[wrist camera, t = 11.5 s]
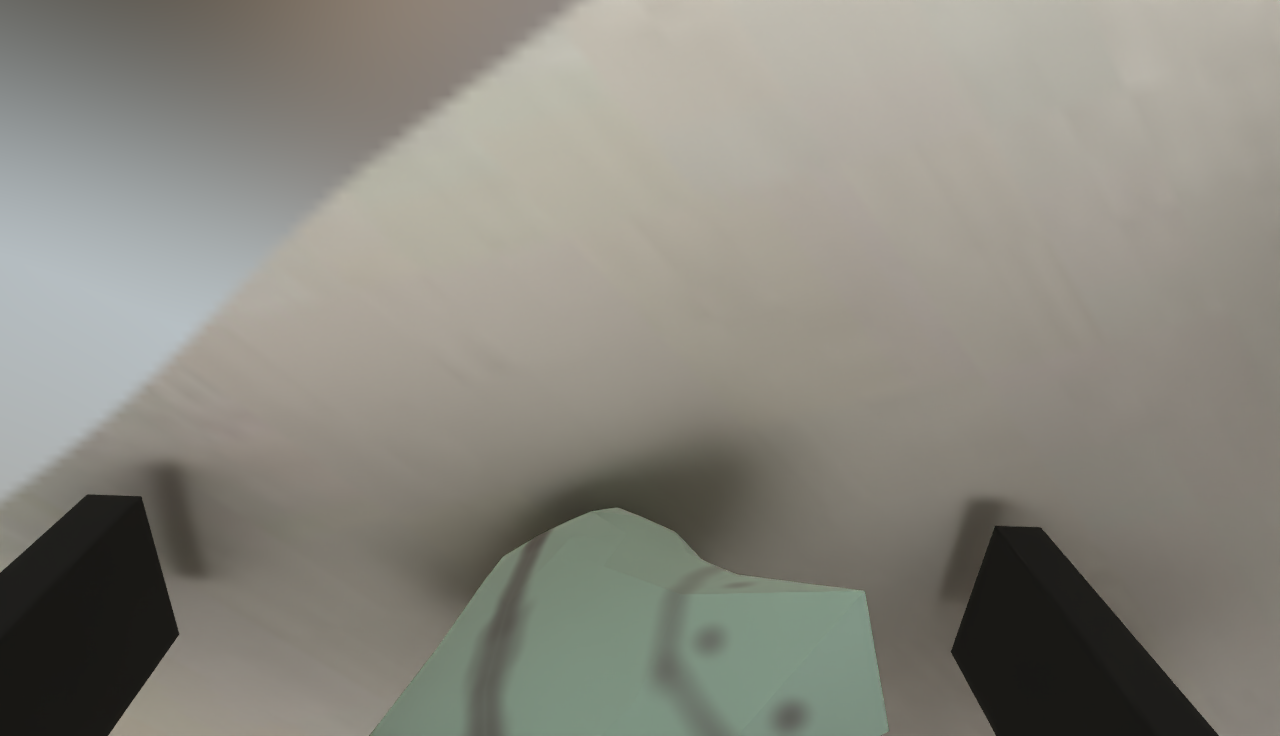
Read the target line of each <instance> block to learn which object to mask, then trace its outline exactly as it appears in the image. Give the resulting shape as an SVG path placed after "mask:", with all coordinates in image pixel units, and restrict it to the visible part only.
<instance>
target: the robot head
mask: <svg viewBox="0 0 1280 736" xmlns="http://www.w3.org/2000/svg"><path fill="white" fill-rule="evenodd" d="M888 731H889V727H888V722H887V716H886V710H885V704H884V699H883V693H882V687H881V681H880V676H879V670H878V664H877V658H876V653H875V647H874V641H873V635H872V630H871V624H870V618H869V612H868V607H867V601H866V595H865V591H863V590H855V589H847V588H840V587H832V586H824V585H816V584H808V583H800V582H793V581H785V580H777V579H769V578H761V577H754V576H746V575H738V574H734V573H732V572H730V571H727V570H725V569H723V568H720V567H718V566H716V565H713V564H711V563H708V562H706V561H704V560H702V559H701V558H700V557H699V556H698V555H697V554H696V553H695V552H694V551H693V550H692V549H691V548H690V546H689V545H688V544H687V543H686V542H685V541H684V540H683V539H682V538H681V537H680V536H679V535H678V534H677V533H676V532H675V531H672V530H670V529H668V528H666V527H664V526H661V525H659V524H657V523H655V522H652V521H650V520H648V519H646V518H643V517H641V516H639V515H636V514H633V513H631V512H628V511H626V510H623V509H620V508H618V507H616V508H610V509H603V510H596V511H591V512H588V513H586V514H583V515H581V516H579V517H576V518H574V519H571V520H569V521H567V522H565V523H563V524H561V525H558V526H556V527H554V528H552V529H550V530H548V531H546V532H544V533H542V534H540V535H538V536H536V537H535V538H533V539H531V540H530V541H528V542H526V543H525V544H523V545H521V546H520V547H518V548H516V549H515V550H513V551H511V552H510V553H508V554H506V555H505V556H503V557H502V559H501V560H500V561H499V562H498V564H497V565H496V566H495V567H494V569H493V570H492V571H491V573H490V574H489V575H488V576H487V578H486V579H485V580H484V582H483V583H482V584H481V586H480V587H479V589H478V590H477V591H476V593H475V594H474V596H473V597H472V599H471V600H470V601H469V603H468V604H467V606H466V607H465V609H464V610H463V612H462V613H461V614H460V616H459V617H458V619H457V620H456V622H455V623H454V624H453V626H452V627H451V629H450V630H449V632H448V633H447V634H446V636H445V637H444V639H443V640H442V642H441V643H440V644H439V646H438V647H437V649H436V650H435V651H434V653H433V654H432V655H431V657H430V658H429V659H428V660H427V662H426V663H425V664H424V666H423V667H422V668H421V669H420V671H419V672H418V673H417V675H416V676H415V677H414V679H413V680H412V681H411V682H410V684H409V685H408V686H407V688H406V689H405V690H404V692H403V693H402V694H401V695H400V697H399V698H398V699H397V701H396V702H395V703H394V704H393V706H392V707H391V708H390V710H389V711H388V712H387V714H386V715H385V716H384V717H383V719H382V720H381V721H380V723H379V724H378V725H377V727H376V728H375V729H374V730H373V732H372V733H371V734H370V736H881V735H883V734H885V733H886V732H888Z"/></svg>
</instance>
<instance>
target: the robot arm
mask: <svg viewBox="0 0 1280 736" xmlns="http://www.w3.org/2000/svg"><path fill="white" fill-rule="evenodd" d="M178 635H179V631H178V628H177V624H176V621H175V617H174V613H173V610H172V606H171V602H170V599H169V595H168V592H167V588H166V584H165V581H164V577H163V573H162V570H161V566H160V562H159V559H158V555H157V552H156V548H155V544H154V541H153V537H152V533H151V530H150V526H149V523H148V519H147V515H146V512H145V508H144V504H143V501H142V497H141V496H113V495H86V496H85V497H84V498H83V499H82V500H81V501H80V502H78V503H77V504H76V505H75V506H74V507H73V508H72V509H71V510H70V511H69V512H67V513H66V514H65V515H64V516H63V517H62V518H61V519H60V520H59V521H57V522H56V523H55V524H54V525H53V526H52V527H51V528H50V529H49V530H47V531H46V532H45V533H44V534H43V535H42V536H41V537H40V538H39V539H37V540H36V541H35V542H34V543H33V544H32V545H31V546H30V547H29V548H27V549H26V550H25V551H24V552H23V553H22V554H21V555H20V556H19V557H18V558H16V559H15V560H14V561H13V562H12V563H11V564H10V565H9V566H8V567H6V568H5V569H4V570H3V571H2V572H1V573H0V736H108V735H109V733H110V732H111V730H112V729H113V728H114V726H115V725H116V723H117V722H118V721H119V719H120V718H121V716H122V715H123V713H124V712H125V711H126V709H127V708H128V706H129V705H130V704H131V702H132V701H133V699H134V698H135V696H136V695H137V694H138V692H139V691H140V689H141V688H142V686H143V685H144V684H145V682H146V681H147V679H148V678H149V677H150V675H151V674H152V672H153V671H154V669H155V668H156V667H157V665H158V664H159V662H160V661H161V660H162V658H163V657H164V655H165V654H166V652H167V651H168V650H169V648H170V647H171V645H172V644H173V642H174V641H175V640H176V638H177V637H178ZM951 653H952V655H953V657H954V659H955V660H956V662H957V664H958V666H959V668H960V670H961V672H962V673H963V675H964V677H965V679H966V681H967V683H968V684H969V686H970V688H971V690H972V692H973V694H974V696H975V697H976V699H977V701H978V703H979V705H980V707H981V708H982V710H983V712H984V714H985V716H986V718H987V719H988V721H989V723H990V725H991V727H992V729H993V731H994V732H995V734H996V736H1219V735H1218V734H1217V733H1216V732H1215V731H1214V729H1213V728H1212V727H1211V726H1210V725H1209V724H1208V722H1207V721H1206V720H1205V719H1204V718H1203V717H1202V715H1201V714H1200V713H1199V712H1198V711H1197V710H1196V708H1195V707H1194V706H1193V705H1192V704H1191V703H1190V701H1189V700H1188V699H1187V698H1186V697H1185V696H1184V694H1183V693H1182V692H1181V691H1180V690H1179V689H1178V687H1177V686H1176V685H1175V684H1174V683H1173V681H1172V680H1171V679H1170V678H1169V677H1168V676H1167V674H1166V673H1165V672H1164V671H1163V670H1162V669H1161V667H1160V666H1159V665H1158V664H1157V663H1156V662H1155V660H1154V659H1153V658H1152V657H1151V656H1150V655H1149V653H1148V652H1147V651H1146V650H1145V649H1144V648H1143V646H1142V645H1141V644H1140V643H1139V642H1138V641H1137V639H1136V638H1135V637H1134V636H1133V635H1132V634H1131V632H1130V631H1129V630H1128V629H1127V628H1126V627H1125V625H1124V624H1123V623H1122V622H1121V621H1120V620H1119V618H1118V617H1117V616H1116V615H1115V614H1114V612H1113V611H1112V610H1111V609H1110V608H1109V607H1108V605H1107V604H1106V603H1105V602H1104V601H1103V600H1102V598H1101V597H1100V596H1099V595H1098V594H1097V593H1096V591H1095V590H1094V589H1093V588H1092V587H1091V586H1090V584H1089V583H1088V582H1087V581H1086V580H1085V579H1084V577H1083V576H1082V575H1081V574H1080V573H1079V572H1078V570H1077V569H1076V568H1075V567H1074V566H1073V565H1072V563H1071V562H1070V561H1069V560H1068V559H1067V558H1066V556H1065V555H1064V554H1063V553H1062V552H1061V551H1060V549H1059V548H1058V547H1057V546H1056V545H1055V543H1054V542H1053V541H1052V540H1051V539H1050V538H1049V536H1048V535H1047V534H1046V533H1045V532H1044V531H1043V529H1042V528H1039V527H1010V526H995V527H994V530H993V533H992V536H991V539H990V542H989V544H988V547H987V550H986V553H985V556H984V559H983V561H982V564H981V567H980V570H979V573H978V576H977V579H976V581H975V584H974V587H973V590H972V593H971V596H970V599H969V601H968V604H967V607H966V610H965V613H964V616H963V618H962V621H961V624H960V627H959V630H958V633H957V636H956V638H955V641H954V644H953V647H952V650H951Z"/></svg>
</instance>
